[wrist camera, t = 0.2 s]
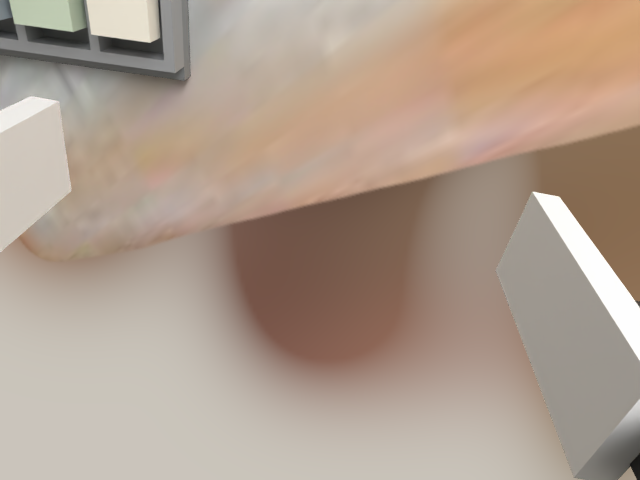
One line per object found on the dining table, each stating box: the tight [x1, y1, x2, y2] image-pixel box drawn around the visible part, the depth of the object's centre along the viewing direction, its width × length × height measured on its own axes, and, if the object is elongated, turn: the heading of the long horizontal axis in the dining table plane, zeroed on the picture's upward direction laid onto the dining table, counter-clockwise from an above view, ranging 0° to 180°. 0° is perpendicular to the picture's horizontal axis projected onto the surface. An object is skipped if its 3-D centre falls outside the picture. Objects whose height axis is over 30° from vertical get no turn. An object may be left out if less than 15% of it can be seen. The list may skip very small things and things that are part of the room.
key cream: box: [86, 0, 160, 43], centre depth 33 cm, size 4×4×2 cm
